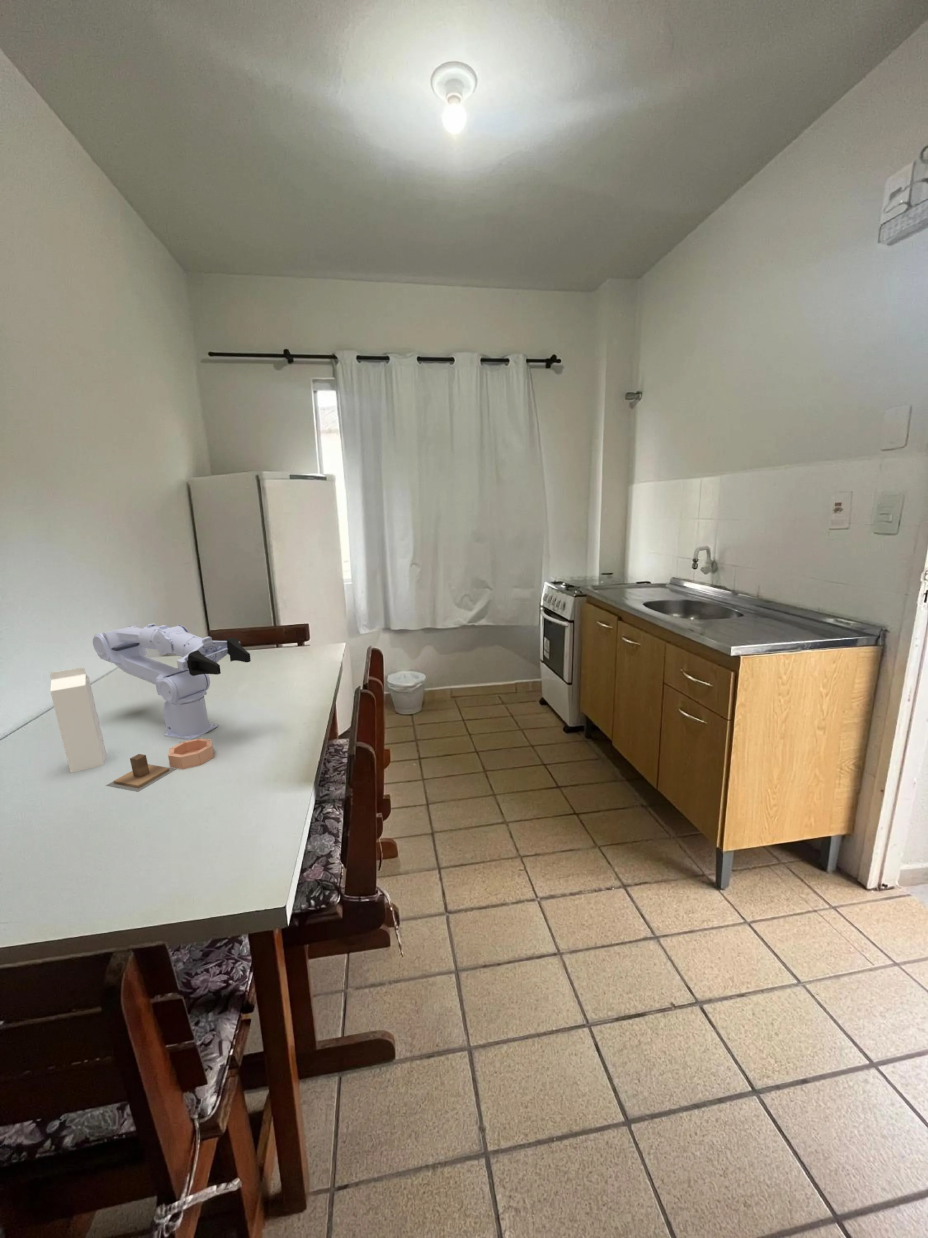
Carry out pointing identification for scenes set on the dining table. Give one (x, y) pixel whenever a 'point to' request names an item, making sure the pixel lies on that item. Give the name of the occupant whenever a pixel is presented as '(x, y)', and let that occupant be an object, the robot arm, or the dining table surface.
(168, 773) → the mat
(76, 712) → the milk
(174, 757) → the octagonal copper pot
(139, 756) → the lid
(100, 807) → the dining table surface
